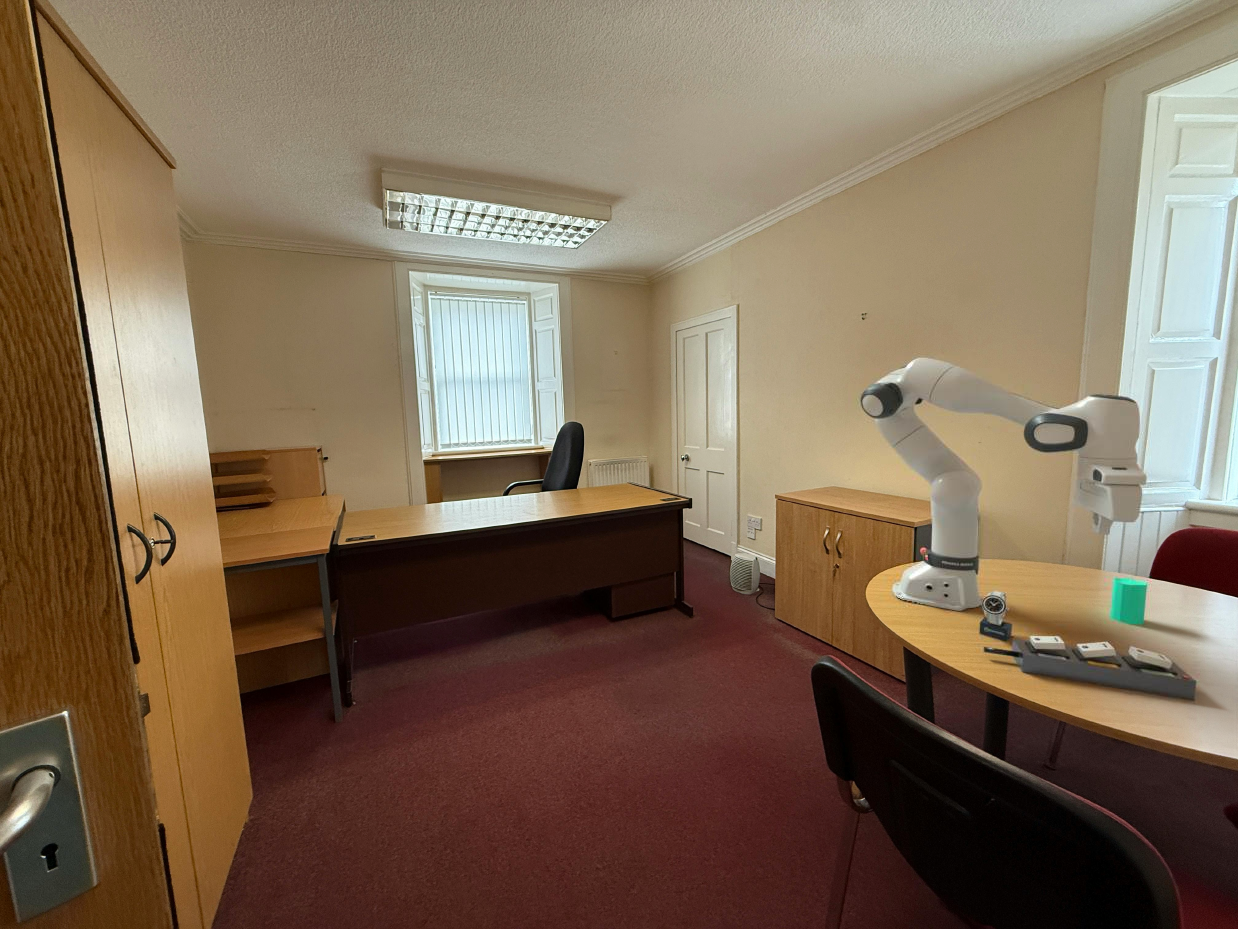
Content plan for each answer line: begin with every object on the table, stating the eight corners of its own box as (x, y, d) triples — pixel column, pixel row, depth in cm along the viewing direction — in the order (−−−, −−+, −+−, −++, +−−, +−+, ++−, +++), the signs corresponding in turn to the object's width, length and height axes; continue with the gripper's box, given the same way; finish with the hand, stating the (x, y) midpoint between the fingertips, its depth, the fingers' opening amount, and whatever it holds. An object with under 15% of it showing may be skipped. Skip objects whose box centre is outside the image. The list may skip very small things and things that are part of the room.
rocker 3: (1136, 659, 96) (1138, 653, 96) (1128, 652, 99) (1130, 645, 99) (1169, 668, 94) (1172, 662, 94) (1160, 660, 97) (1163, 654, 97)
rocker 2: (1085, 657, 100) (1082, 650, 100) (1078, 650, 103) (1076, 644, 103) (1116, 655, 98) (1114, 648, 98) (1109, 648, 100) (1107, 641, 100)
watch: (977, 636, 119) (979, 594, 118) (986, 626, 124) (988, 585, 123) (1005, 644, 115) (1007, 600, 114) (1013, 633, 120) (1016, 591, 119)
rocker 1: (1035, 648, 104) (1034, 642, 103) (1030, 642, 106) (1029, 635, 106) (1065, 649, 101) (1064, 642, 101) (1059, 642, 104) (1058, 636, 104)
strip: (987, 666, 106) (988, 648, 105) (979, 649, 113) (980, 632, 112) (1194, 700, 91) (1196, 679, 91) (1170, 679, 98) (1172, 659, 98)
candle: (1150, 625, 121) (1154, 580, 120) (1122, 624, 122) (1126, 579, 121) (1130, 615, 127) (1134, 571, 125) (1104, 614, 128) (1107, 571, 127)
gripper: (1067, 464, 113) (1063, 521, 114) (1107, 476, 94) (1102, 544, 96) (1103, 464, 110) (1099, 523, 111) (1152, 477, 92) (1145, 547, 93)
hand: (1100, 533), depth 104 cm, fingers closed
